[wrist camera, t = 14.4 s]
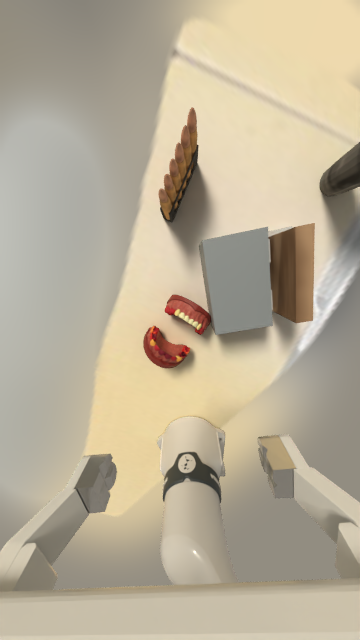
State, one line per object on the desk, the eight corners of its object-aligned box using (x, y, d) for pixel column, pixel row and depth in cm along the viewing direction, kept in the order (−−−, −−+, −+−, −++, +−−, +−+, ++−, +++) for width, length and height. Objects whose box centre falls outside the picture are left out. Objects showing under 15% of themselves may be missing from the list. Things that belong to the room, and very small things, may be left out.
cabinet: (291, 308, 38) (317, 318, 31) (210, 321, 40) (215, 334, 32) (289, 227, 34) (319, 215, 26) (198, 246, 36) (202, 240, 28)
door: (284, 234, 34) (323, 221, 24) (286, 305, 38) (320, 319, 28) (264, 238, 34) (295, 226, 24) (268, 308, 38) (296, 323, 28)
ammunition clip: (171, 222, 35) (164, 200, 23) (163, 218, 34) (151, 193, 23) (197, 162, 32) (203, 102, 20) (188, 156, 32) (188, 93, 20)
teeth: (222, 323, 32) (175, 381, 36) (216, 313, 40) (178, 362, 43) (173, 289, 31) (131, 353, 35) (177, 285, 39) (142, 338, 42)
